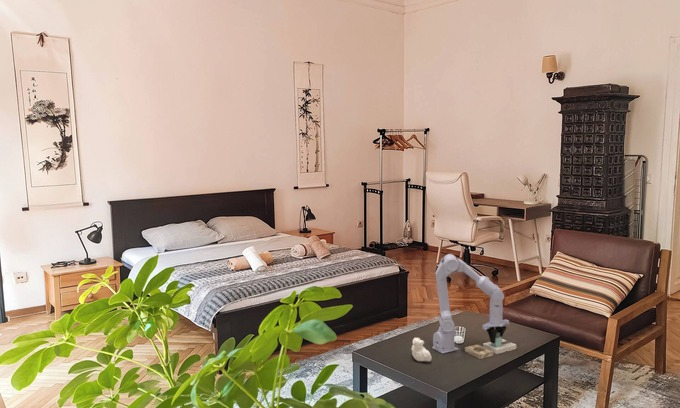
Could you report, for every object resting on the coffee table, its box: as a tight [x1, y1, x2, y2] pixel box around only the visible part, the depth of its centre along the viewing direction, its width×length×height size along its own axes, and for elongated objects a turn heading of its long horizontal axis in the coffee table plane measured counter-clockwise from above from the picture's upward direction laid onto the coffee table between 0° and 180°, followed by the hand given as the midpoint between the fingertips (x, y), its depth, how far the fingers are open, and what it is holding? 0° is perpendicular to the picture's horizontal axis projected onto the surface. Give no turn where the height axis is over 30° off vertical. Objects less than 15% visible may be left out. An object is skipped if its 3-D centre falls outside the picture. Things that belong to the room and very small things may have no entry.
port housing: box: [482, 338, 517, 355], centre depth 244 cm, size 12×9×2 cm
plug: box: [491, 332, 503, 348], centre depth 242 cm, size 3×3×8 cm
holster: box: [464, 343, 494, 360], centre depth 238 cm, size 8×10×2 cm
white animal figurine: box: [410, 337, 432, 362], centre depth 232 cm, size 12×8×11 cm
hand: (495, 341), depth 242 cm, fingers closed on plug, 3 cm apart
